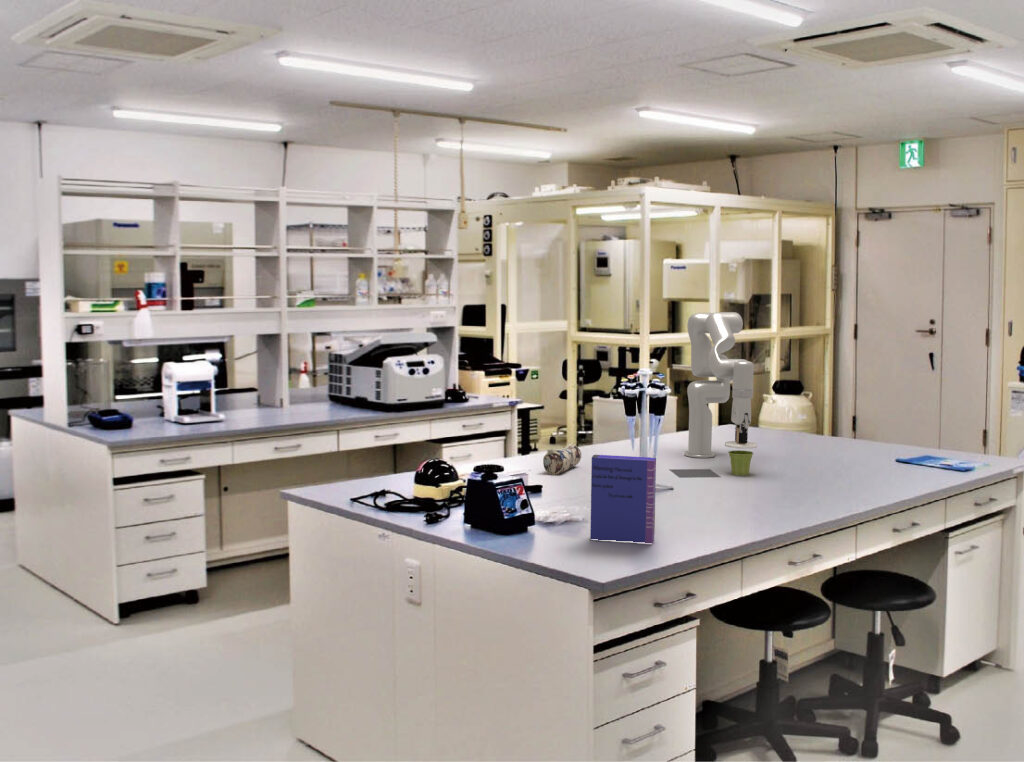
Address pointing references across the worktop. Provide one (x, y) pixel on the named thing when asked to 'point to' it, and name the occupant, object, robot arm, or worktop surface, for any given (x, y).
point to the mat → (694, 473)
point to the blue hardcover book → (623, 498)
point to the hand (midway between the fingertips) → (741, 441)
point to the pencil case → (561, 459)
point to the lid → (740, 445)
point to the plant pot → (740, 462)
